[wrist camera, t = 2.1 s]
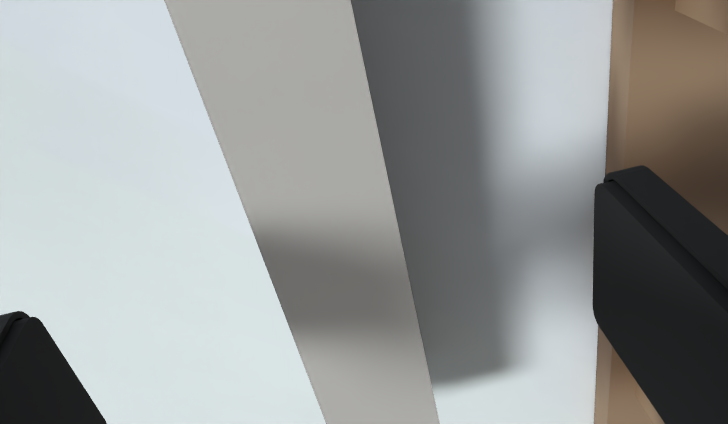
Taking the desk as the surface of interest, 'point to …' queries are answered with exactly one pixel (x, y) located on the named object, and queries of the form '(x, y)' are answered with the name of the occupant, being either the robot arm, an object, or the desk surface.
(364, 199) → the clay strip
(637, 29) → the wooden pegged board
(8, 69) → the desk surface
